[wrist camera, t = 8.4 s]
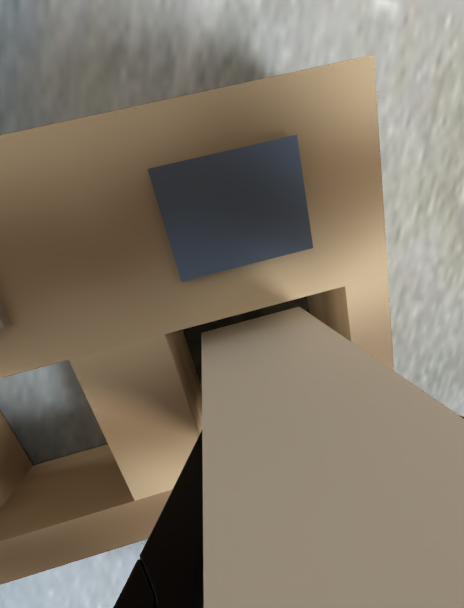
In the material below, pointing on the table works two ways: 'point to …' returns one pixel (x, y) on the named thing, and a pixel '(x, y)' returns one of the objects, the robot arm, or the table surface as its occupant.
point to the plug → (324, 474)
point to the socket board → (173, 276)
